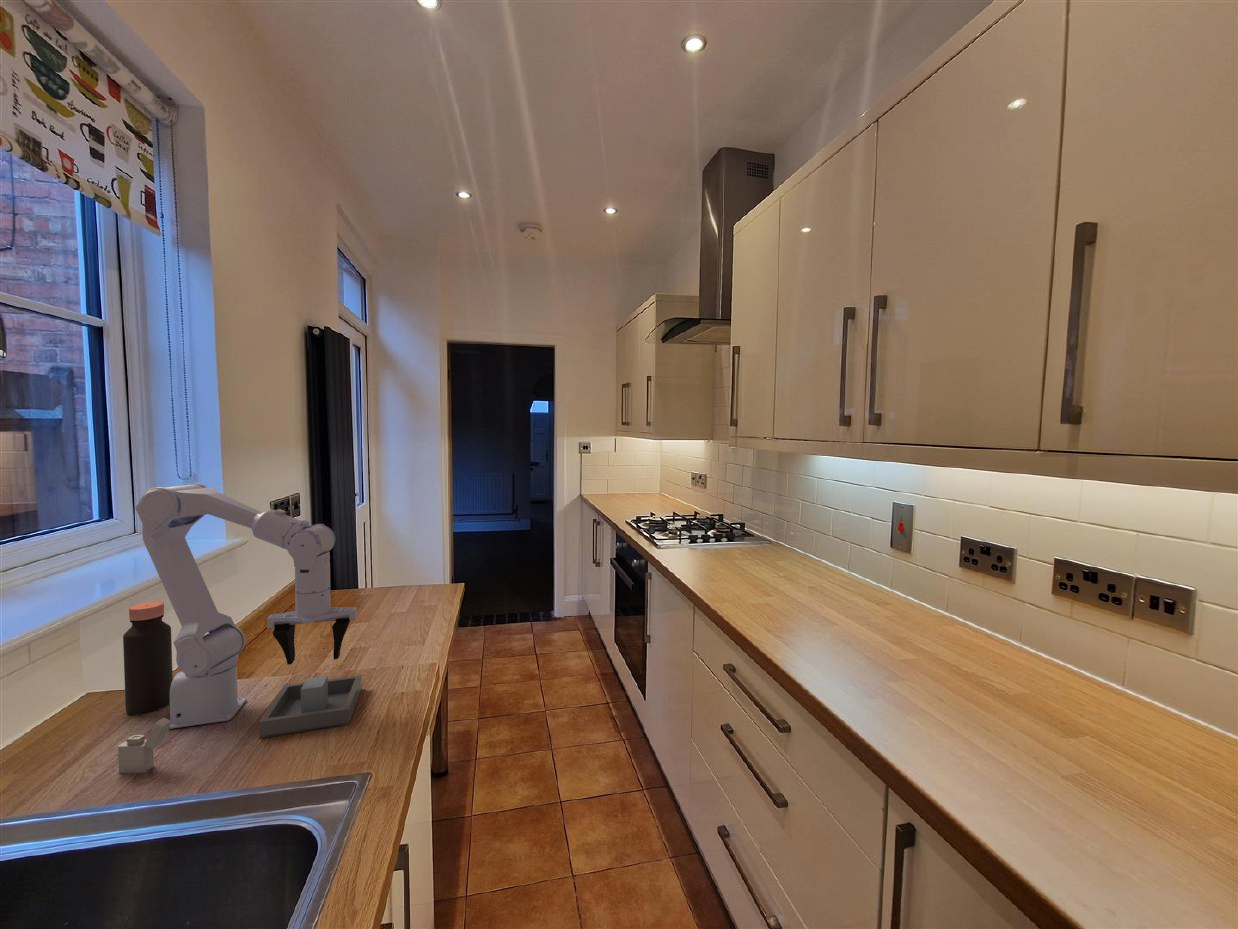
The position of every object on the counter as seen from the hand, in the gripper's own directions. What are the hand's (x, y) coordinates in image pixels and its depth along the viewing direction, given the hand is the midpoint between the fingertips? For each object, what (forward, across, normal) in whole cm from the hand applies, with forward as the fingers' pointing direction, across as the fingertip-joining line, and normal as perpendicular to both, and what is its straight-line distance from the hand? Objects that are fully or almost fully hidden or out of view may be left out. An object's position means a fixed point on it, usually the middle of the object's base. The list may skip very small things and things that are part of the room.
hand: (314, 659), depth 96 cm
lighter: (+10, -21, -11) cm, 26 cm away
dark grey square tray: (+10, 0, 0) cm, 10 cm away
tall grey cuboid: (+10, 0, 0) cm, 10 cm away
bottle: (+10, -31, +12) cm, 35 cm away
